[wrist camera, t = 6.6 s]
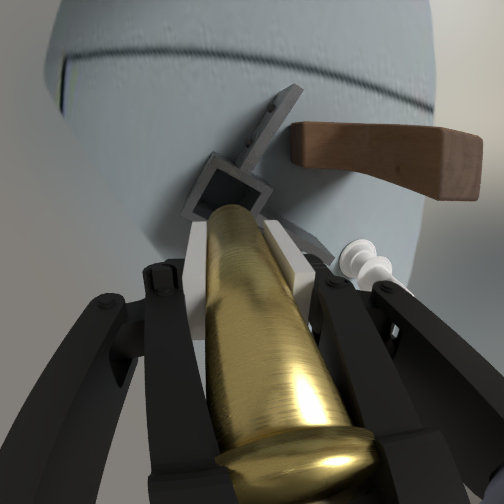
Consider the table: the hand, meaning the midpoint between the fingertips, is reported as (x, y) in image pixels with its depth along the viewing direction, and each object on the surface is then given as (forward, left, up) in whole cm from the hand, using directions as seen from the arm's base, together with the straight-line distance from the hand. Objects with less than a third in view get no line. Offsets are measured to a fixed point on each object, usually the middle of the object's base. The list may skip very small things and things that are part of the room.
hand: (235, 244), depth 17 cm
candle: (+8, +17, -16) cm, 25 cm away
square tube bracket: (-2, +6, -16) cm, 17 cm away
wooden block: (-5, +11, -16) cm, 20 cm away
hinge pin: (0, 0, -3) cm, 3 cm away
